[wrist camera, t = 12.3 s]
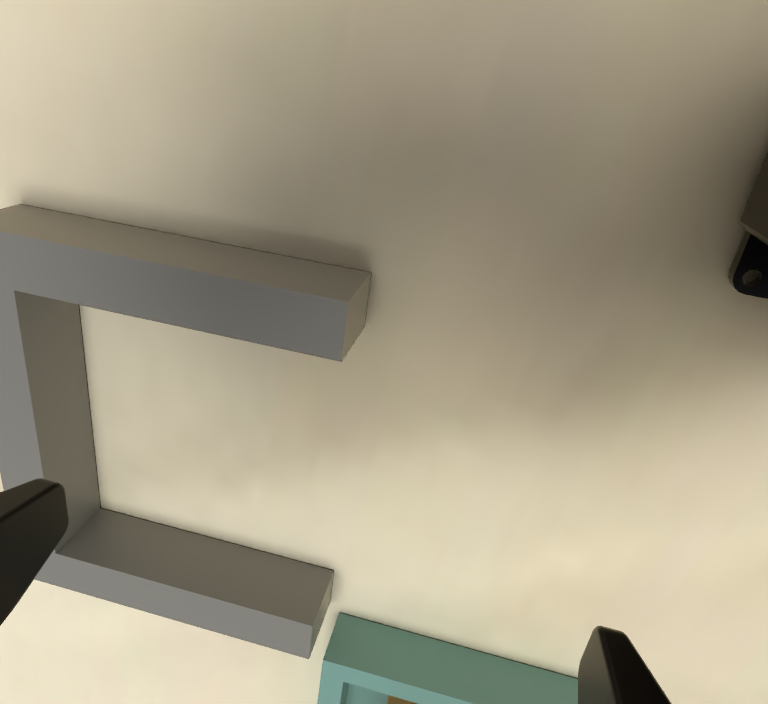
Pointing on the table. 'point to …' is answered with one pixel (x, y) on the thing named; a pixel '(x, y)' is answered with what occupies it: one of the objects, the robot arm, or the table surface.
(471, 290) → the table surface
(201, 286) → the bay
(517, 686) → the tray
